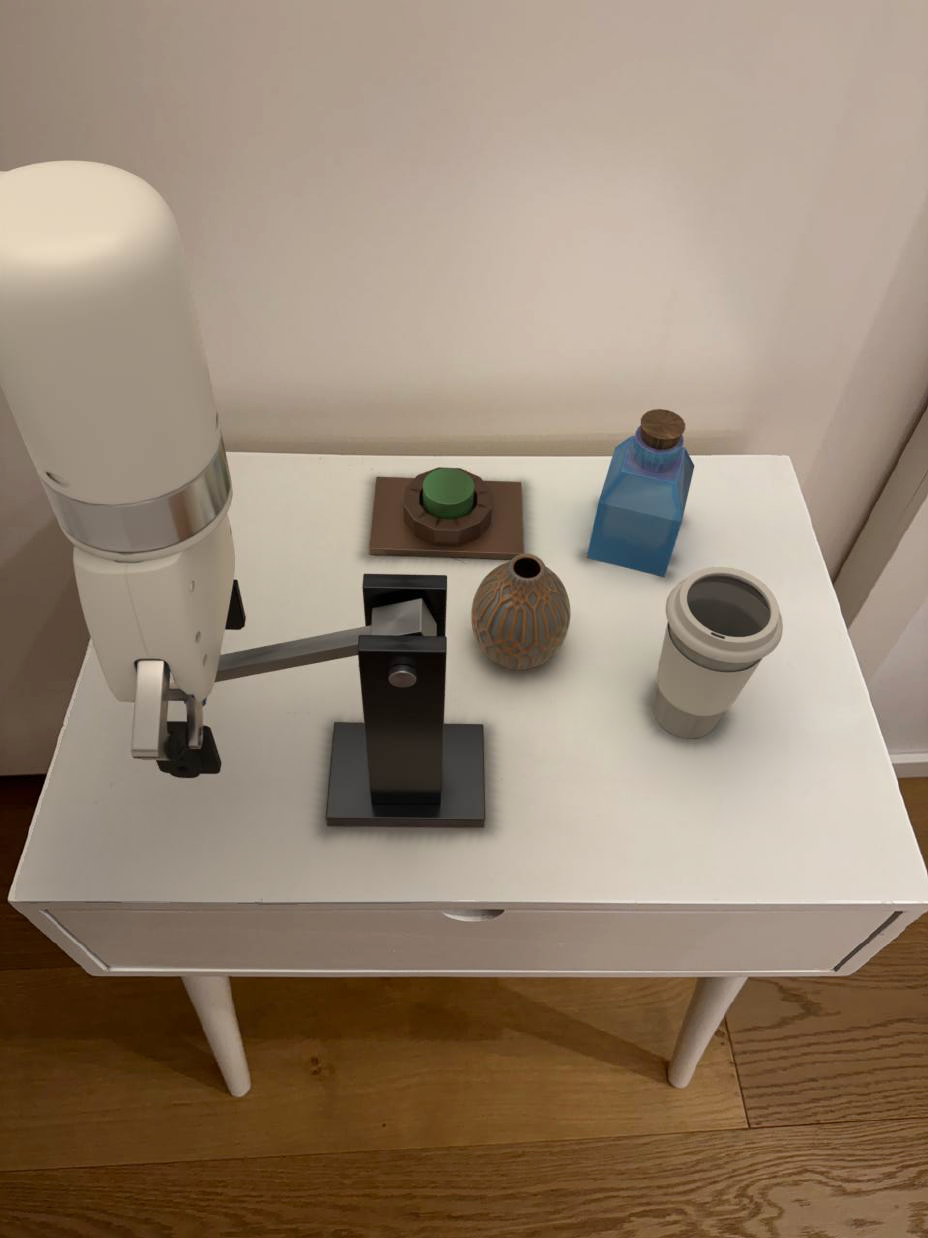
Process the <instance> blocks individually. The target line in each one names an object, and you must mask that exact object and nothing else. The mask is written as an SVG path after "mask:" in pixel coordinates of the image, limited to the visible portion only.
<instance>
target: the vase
mask: <svg viewBox="0 0 928 1238" xmlns="http://www.w3.org/2000/svg"><path fill="white" fill-rule="evenodd" d="M470 612H471V613H470V620H471V628H472V629H471V630H472V633H473V636H474V638H475V641H476V644H477V645H478V647H479V649H481V651H482V652H483V653H484V655H485V656H486V657H487V658H489V659H490V660H491V661H493V662H494V663H496V664H497V665H500V666H502V667H505V668H508V669H514V670H526V669H532V668H536V667H538V666H541V665H542V664H544V663H546V662H547V661H548V660H550V659H551V658H553V656H555V654H556V653H557V652H558V651H559V649H560V648H561V646H562V645H563V643H564V642H565V640H566V637H567V636H568V632H569V628H570V623H571V615H572V614H571V613H572V612H571V603H570V599H569V594H568V592H567V589H566V587H565V585H564V583H563V582H562V580H561V579H560V577H559V576H558V575H557V574H556V572H554V571H553V570H552V569H550V568H549V567H548V566H546V564H545V563H544V561H543V560H542V559H541V558H540V557H538V555H535V554H532V553H524V554H520V555H517V556H515V557H514V558H513V559H510V560H509V561H507V562H504V563H502V564H500V565H498V566H496V567H495V568H493V569H492V570H491V571H489V573H488V574H486V576H485V577H484V578H483V579H482V580H481V583H480V584H479V586H478V587H477V588H476V591H475V594H474V597H473V600H472V603H471V611H470Z"/></svg>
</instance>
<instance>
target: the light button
mask: <svg viewBox="0 0 928 1238" xmlns="http://www.w3.org/2000/svg"><path fill="white" fill-rule="evenodd" d="M454 468H455V467H443V468H442V469H438V470H435V471H433V472H431V473H430V474H429V475H428V476H427V477H426V478H425V480H424V482H423V505H424V507H425V509H426V510H427V512H429V513H430V514H431V515H433V516H434V517H437V518H440V519H458V518H461V517H463V516H465V515H466V514H467V513H469V512H470V510H471V509H472V507H473V502H474V482H473V480H472V478H471V477H470V476H469V475H468V474H467V473H465V472H463V471H461V470H458V469H454Z"/></svg>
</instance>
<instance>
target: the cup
mask: <svg viewBox="0 0 928 1238" xmlns="http://www.w3.org/2000/svg"><path fill="white" fill-rule="evenodd" d="M777 600H778V599H777V598H776V596H775V595H774V593H773V592H772V590H771V589H770V588H769V587H768V586H767V585H766V584H765V583H764V582H763V581H761V580H760V579H759V578H757V577H756V576H754V575H752V574H750V573H748V572H745V571H743V570H741V569H738V568H734V567H727V566H711V567H706V568H705V567H704V568H702V569H700V570H697V571H695V572H693V573H692V574H690V575H689V576H687V577H685V578H684V579H682V580H680V581H679V582H677V584H676V585H675V586H674V587H673V588H672V589H671V591H670V592H669V594H668V596H667V598H666V601H665V616H666V621H667V623H666V627H665V632H664V637H663V642H662V647H661V651H660V656H659V661H658V665H657V670H656V684H655V685H656V687H655V691H654V695H653V700H652V712H653V715H654V717H655V720H656V721H657V723H658V724H659V725H660V727H662V728H663V729H664V730H665V731H667V732H668V733H669V734H672V735H674V736H676V737H680V738H682V739H699V738H702V737H703V738H704V737H705V736H707V735H709V734H710V733H712V732H713V731H714V729H715V728H716V727H717V725H718V724H719V722H720V721H721V719H722V718H723V716H724V715H725V713H726V711H727V710H729V708H731V707H732V705H734V703H735V701H736V700H737V698H738V697H739V696H740V694H741V692H742V691H743V689H744V688H745V686H746V685H747V683H748V682H749V681H750V679H751V678H752V676H753V674H754V673H755V671H756V670H757V668H758V666H759V665H760V663H761V662H762V660H763V659H764V658H765V657H767V656H768V655H770V654H771V653H772V652H774V651H775V649H776V648H777V647H778V646H779V644H780V642H781V640H782V637H783V631H784V624H783V616H782V613H781V611H780V607H779V603H778V601H777Z"/></svg>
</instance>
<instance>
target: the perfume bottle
mask: <svg viewBox="0 0 928 1238" xmlns="http://www.w3.org/2000/svg"><path fill="white" fill-rule="evenodd" d="M685 430H686V422H685V420H684V418H682V416H680V415H679V414H678V413H676V412H675V411H671V410H669V409H663V408H656V409H651V410H648V411H646V412H645V413H643V414H642V415H641V418H640V425H639V426H638V427H637V429H636V430H635V433H634V435H630V436H629V437H628V438H626V439H625V440H623V441H622V442H621V443H619V444H618V445H616V446H615V447H614V450H613V452H612V456H611V459H610V463H609V466H608V469H607V473H606V476H605V479H604V482H603V485H602V489H601V492H600V496H599V499H598V502H597V507H596V511H595V517H594V521H593V525H592V530H591V535H590V540H589V545H588V549H587V553H586V559H590V560H595V561H598V562H602V563H605V564H611V565H615V566H619V567H623V568H627V569H630V570H635V571H638V572H643V573H647V574H651V575H655V576H658V577H663V578H665V577H666V574H667V570H668V567H669V565H670V561H671V558H672V555H673V551H674V548H675V545H676V542H677V539H678V535H679V532H680V530H681V526H682V524H683V520H684V515H685V510H686V505H687V501H688V496H689V492H690V488H691V483H692V479H693V474H694V469H695V464H694V462H693V459H692V458H691V456H690V454H689V452H688V450H687V448H686V447H685V446H684V443H685V442H684V441H685V440H684V439H685V437H684V433H685Z"/></svg>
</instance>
